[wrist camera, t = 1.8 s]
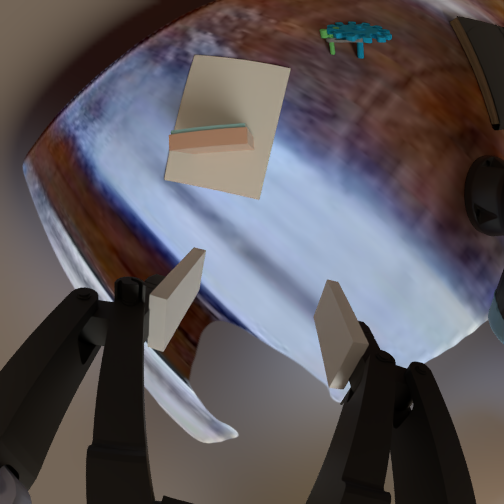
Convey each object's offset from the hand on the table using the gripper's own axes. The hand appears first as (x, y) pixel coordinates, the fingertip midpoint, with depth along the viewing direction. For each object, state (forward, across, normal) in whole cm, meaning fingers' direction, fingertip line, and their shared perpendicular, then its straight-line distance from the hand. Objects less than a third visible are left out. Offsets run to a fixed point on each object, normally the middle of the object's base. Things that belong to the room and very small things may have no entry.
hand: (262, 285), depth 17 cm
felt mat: (+25, -10, +12) cm, 30 cm away
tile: (+25, -9, +9) cm, 28 cm away
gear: (+25, +6, +32) cm, 41 cm away
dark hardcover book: (+26, +46, +48) cm, 71 cm away
